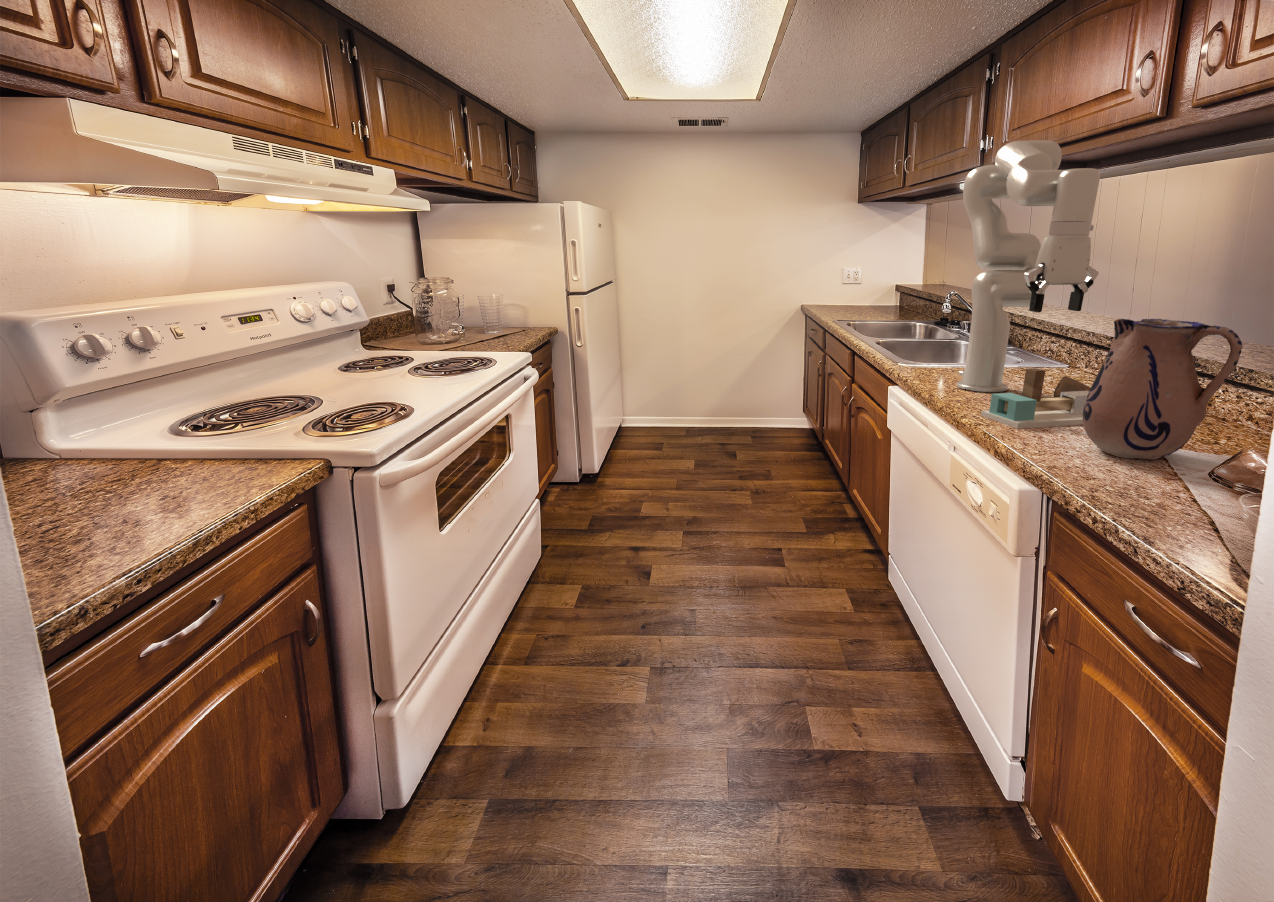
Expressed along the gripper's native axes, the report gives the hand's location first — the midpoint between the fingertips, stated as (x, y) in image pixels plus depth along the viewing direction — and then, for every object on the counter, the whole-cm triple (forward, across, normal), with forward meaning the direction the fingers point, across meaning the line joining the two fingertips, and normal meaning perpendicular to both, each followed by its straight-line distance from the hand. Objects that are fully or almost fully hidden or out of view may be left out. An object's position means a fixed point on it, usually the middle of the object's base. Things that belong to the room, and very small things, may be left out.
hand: (1054, 311), depth 154 cm
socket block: (+23, +10, +4) cm, 25 cm away
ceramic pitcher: (+23, +3, +32) cm, 40 cm away
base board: (+24, +1, +4) cm, 24 cm away
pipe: (+25, -23, -10) cm, 36 cm away
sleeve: (+23, -8, +4) cm, 24 cm away
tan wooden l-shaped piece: (+22, +2, +4) cm, 22 cm away
